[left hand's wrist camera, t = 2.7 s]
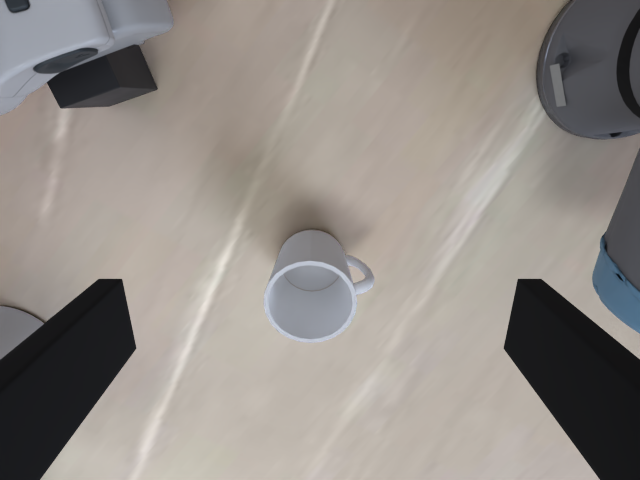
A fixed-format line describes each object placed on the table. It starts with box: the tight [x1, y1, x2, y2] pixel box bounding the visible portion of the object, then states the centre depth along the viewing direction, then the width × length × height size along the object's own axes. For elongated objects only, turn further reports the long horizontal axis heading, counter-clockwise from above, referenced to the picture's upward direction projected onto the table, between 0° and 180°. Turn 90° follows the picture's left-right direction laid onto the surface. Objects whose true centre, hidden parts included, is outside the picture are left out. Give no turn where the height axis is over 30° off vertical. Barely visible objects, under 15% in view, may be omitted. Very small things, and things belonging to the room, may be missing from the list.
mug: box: [264, 229, 374, 343], centre depth 41 cm, size 11×9×10 cm
